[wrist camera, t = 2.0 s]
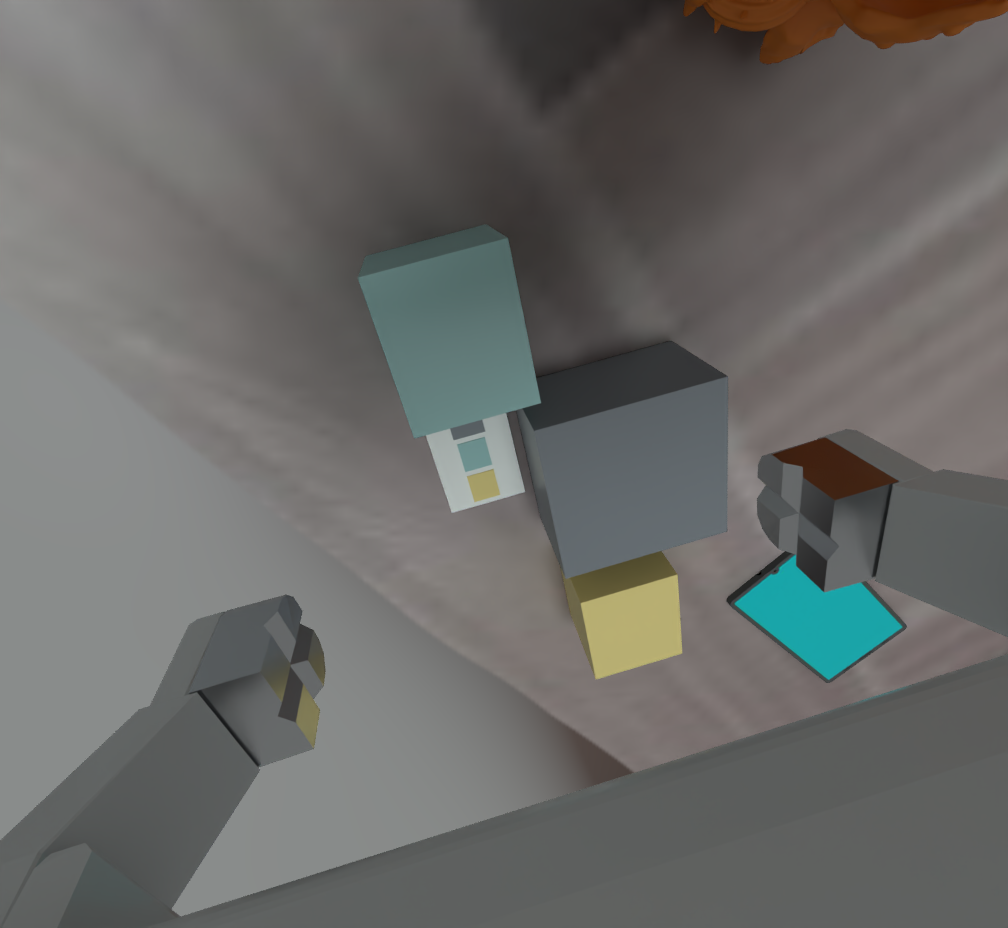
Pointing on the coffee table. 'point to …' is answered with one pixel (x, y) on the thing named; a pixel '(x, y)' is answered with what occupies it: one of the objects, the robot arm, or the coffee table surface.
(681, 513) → the tower base
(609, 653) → the brick mustard
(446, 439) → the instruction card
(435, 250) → the brick teal
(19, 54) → the coffee table surface
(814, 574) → the robot arm
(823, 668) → the smartphone
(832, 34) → the orange figurine
